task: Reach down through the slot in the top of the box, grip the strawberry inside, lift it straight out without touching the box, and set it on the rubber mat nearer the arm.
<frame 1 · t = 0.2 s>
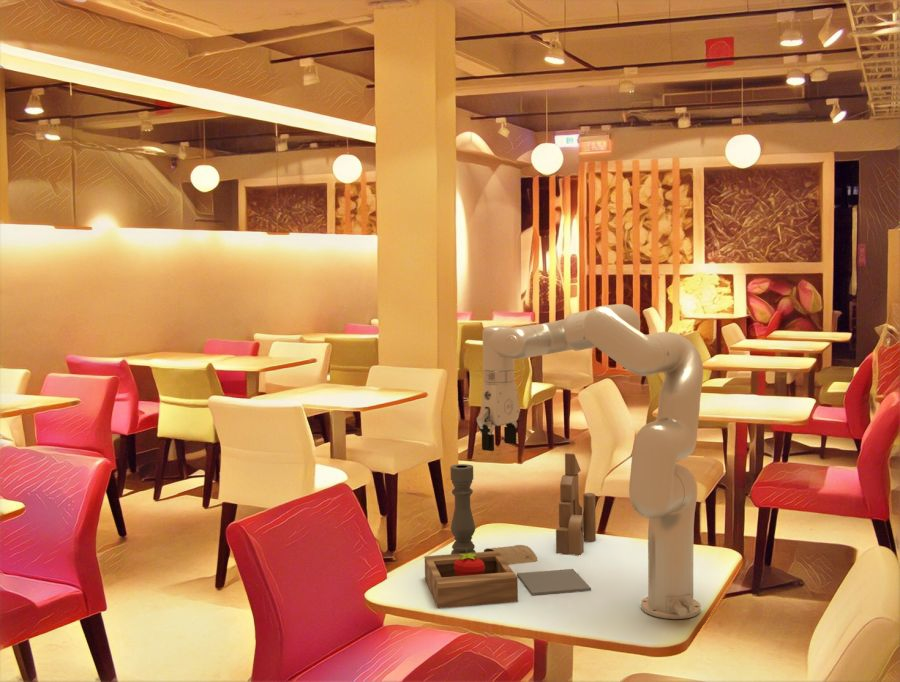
hand: (499, 446, 233), 31 cm above the table, tool pointing down, fingers open, 9 cm apart
wooden toy: (576, 547, 254), on the table
strawberry: (469, 590, 222), resting in slotted box
mat: (553, 582, 226), on the table
slotted box: (469, 589, 222), on the table
candle holder: (463, 565, 240), on the table
clay tablet: (510, 559, 247), on the table
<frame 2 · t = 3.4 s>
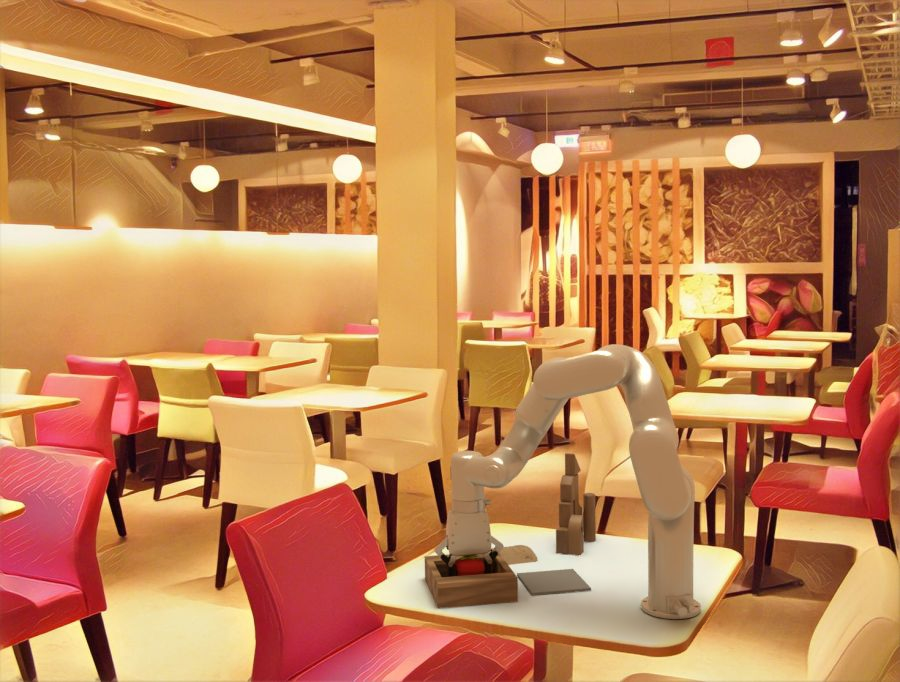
hand: (469, 579, 222), 2 cm above the table, tool pointing down, fingers closed on strawberry, 7 cm apart
strawberry: (469, 590, 222), resting in slotted box, touching gripper
everything else where it was.
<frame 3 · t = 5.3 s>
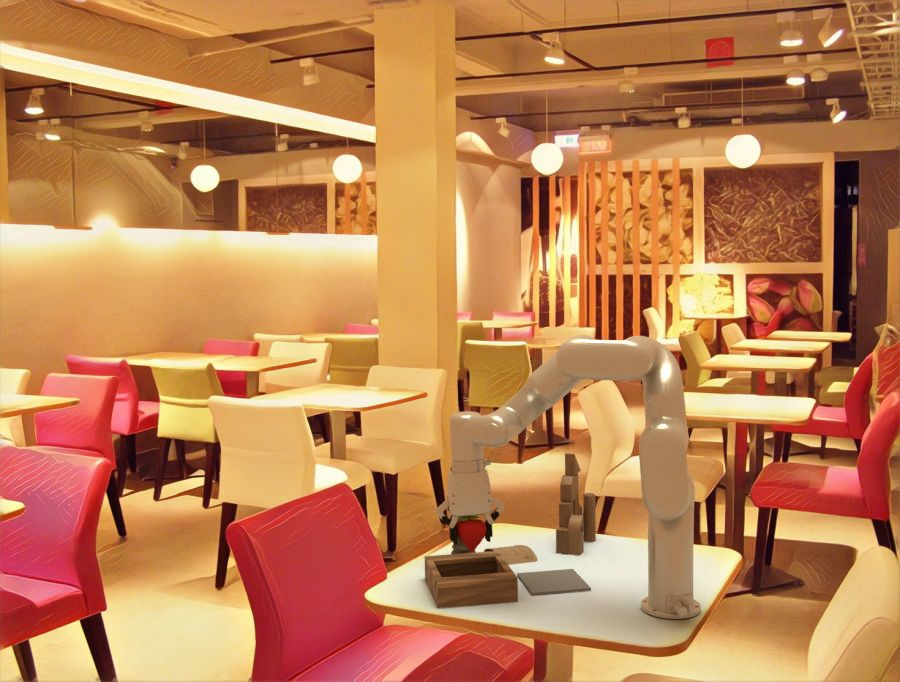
hand: (471, 541, 221), 12 cm above the table, tool pointing down, fingers closed on strawberry, 7 cm apart
strawberry: (471, 552, 221), point 9 cm above the table, touching gripper
everything else where it was.
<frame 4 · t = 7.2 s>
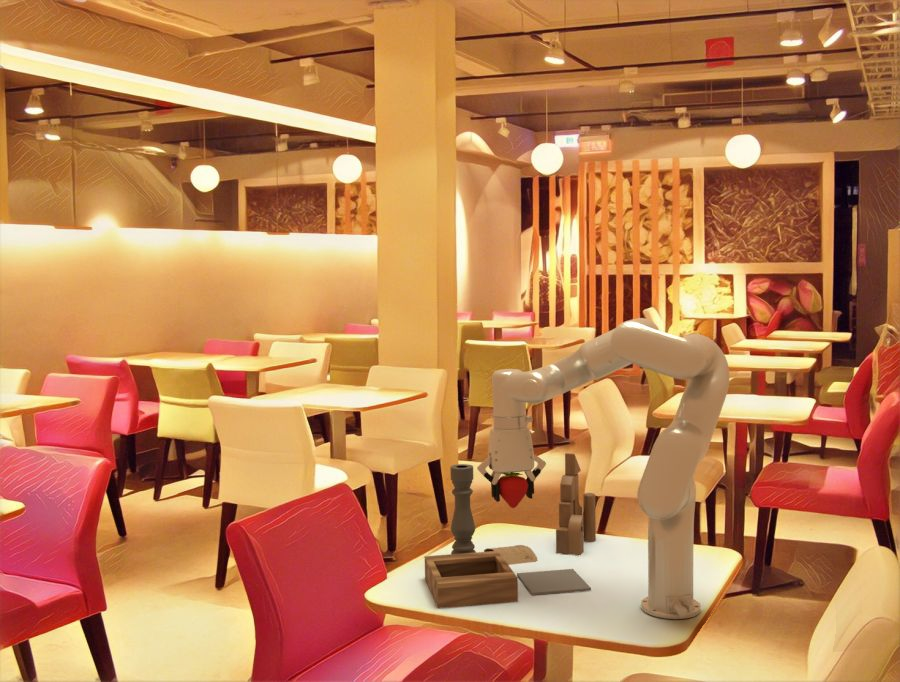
hand: (513, 498, 222), 21 cm above the table, tool pointing down, fingers closed on strawberry, 7 cm apart
strawberry: (513, 508, 222), point 18 cm above the table, touching gripper
everything else where it was.
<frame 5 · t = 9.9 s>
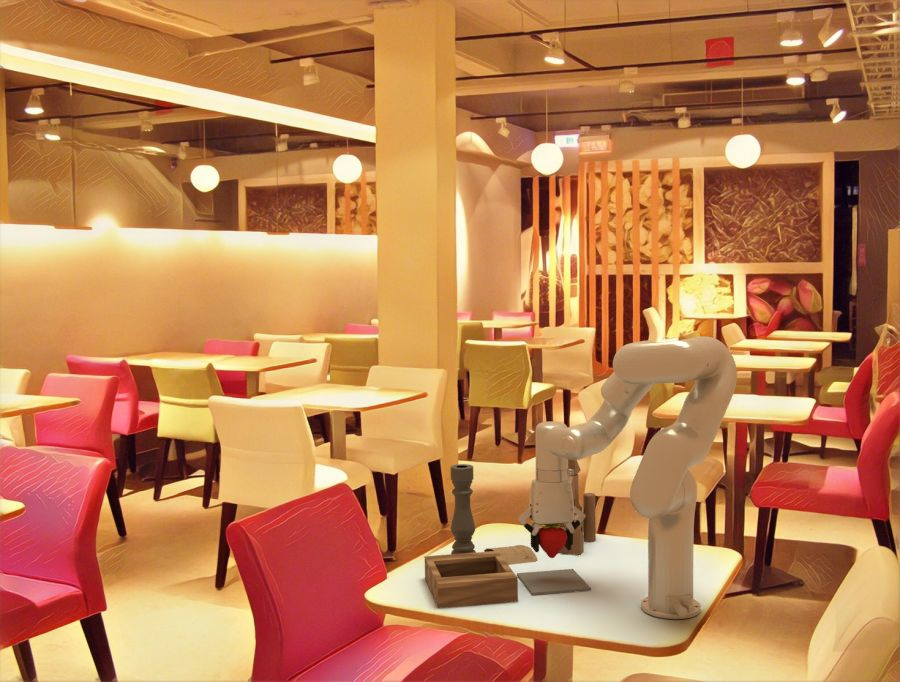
hand: (551, 548, 225), 8 cm above the table, tool pointing down, fingers closed on strawberry, 7 cm apart
strawberry: (551, 559, 225), point 6 cm above the table, touching gripper
everything else where it was.
when the fingers open (4 cm above the table, at t = 11.2 s): strawberry drops 1 cm, resting on mat.
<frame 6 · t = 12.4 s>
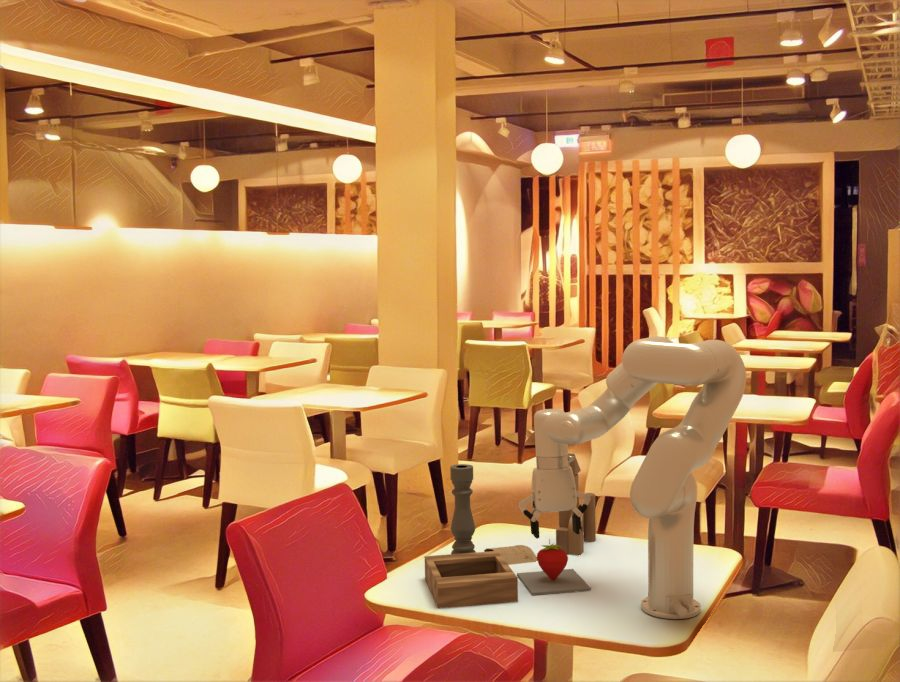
hand: (556, 534, 224), 12 cm above the table, tool pointing down, fingers open, 9 cm apart
strawberry: (553, 581, 226), resting on mat
everything else where it was.
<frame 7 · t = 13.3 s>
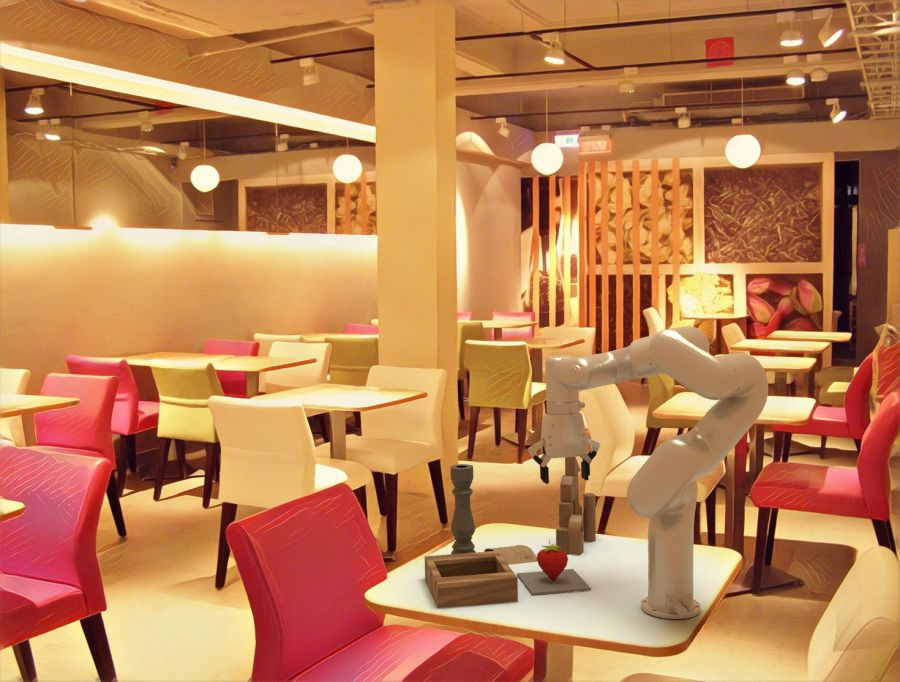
hand: (565, 480, 224), 24 cm above the table, tool pointing down, fingers open, 9 cm apart
nothing on the table moved.
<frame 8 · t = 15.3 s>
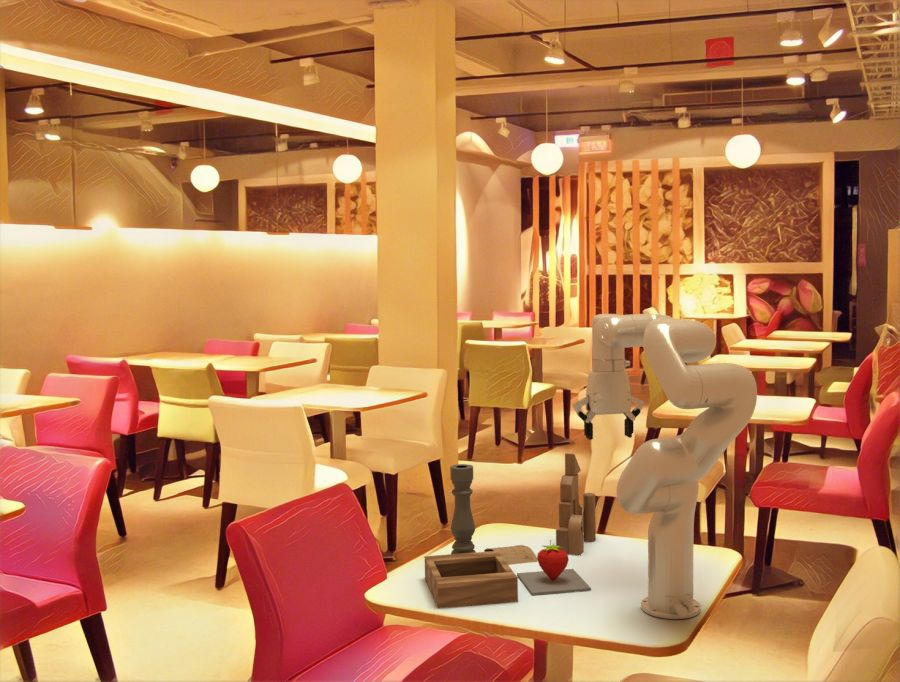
hand: (608, 437, 228), 33 cm above the table, tool pointing down, fingers open, 9 cm apart
nothing on the table moved.
at the end: strawberry inside the target area on the mat (0.1 cm from its centre), point 0.4 cm above the mat's base; the gripper is holding nothing; strawberry touching mat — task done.
